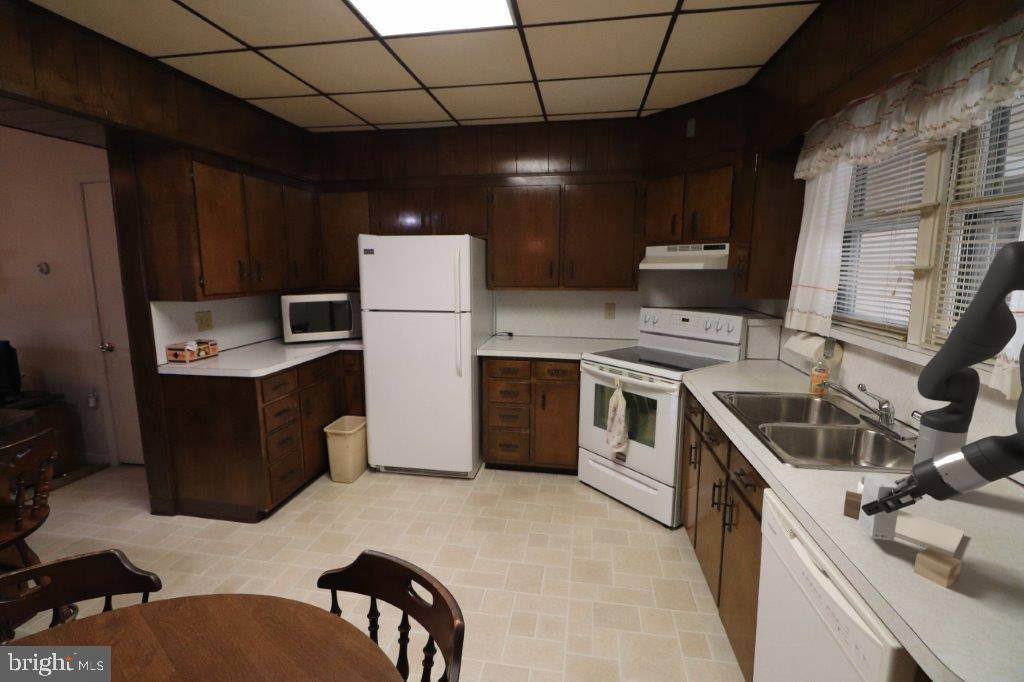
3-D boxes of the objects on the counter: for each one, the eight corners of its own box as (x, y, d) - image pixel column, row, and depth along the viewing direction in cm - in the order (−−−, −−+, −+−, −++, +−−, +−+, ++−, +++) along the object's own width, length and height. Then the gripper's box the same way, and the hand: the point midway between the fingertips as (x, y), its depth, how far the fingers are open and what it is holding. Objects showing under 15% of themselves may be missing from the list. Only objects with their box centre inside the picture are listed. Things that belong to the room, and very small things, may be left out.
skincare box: (894, 541, 99) (902, 488, 97) (871, 539, 100) (879, 486, 97) (878, 524, 105) (886, 474, 102) (857, 523, 106) (863, 473, 103)
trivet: (895, 512, 114) (896, 509, 113) (963, 535, 104) (964, 531, 104) (881, 531, 106) (881, 527, 106) (953, 557, 97) (953, 552, 97)
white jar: (859, 499, 120) (862, 474, 118) (883, 508, 116) (887, 481, 115) (852, 506, 117) (856, 480, 115) (877, 515, 113) (881, 487, 111)
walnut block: (844, 507, 116) (846, 490, 115) (866, 513, 114) (869, 495, 113) (843, 515, 113) (845, 498, 112) (866, 521, 110) (869, 503, 109)
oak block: (926, 565, 95) (929, 547, 94) (958, 580, 90) (961, 561, 90) (913, 572, 93) (916, 554, 92) (945, 588, 88) (949, 569, 88)
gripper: (943, 446, 97) (867, 478, 108) (926, 467, 88) (846, 500, 99) (974, 479, 94) (892, 509, 105) (960, 504, 85) (873, 534, 96)
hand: (870, 504), depth 102 cm, fingers closed on skincare box, 7 cm apart
